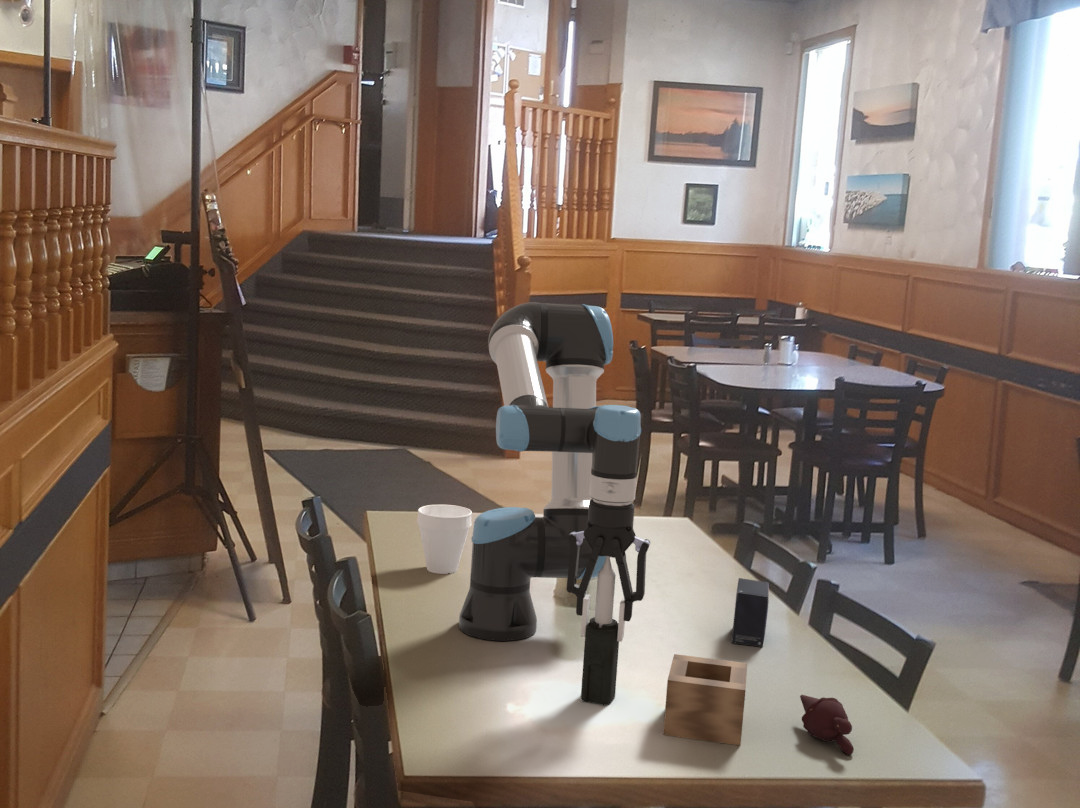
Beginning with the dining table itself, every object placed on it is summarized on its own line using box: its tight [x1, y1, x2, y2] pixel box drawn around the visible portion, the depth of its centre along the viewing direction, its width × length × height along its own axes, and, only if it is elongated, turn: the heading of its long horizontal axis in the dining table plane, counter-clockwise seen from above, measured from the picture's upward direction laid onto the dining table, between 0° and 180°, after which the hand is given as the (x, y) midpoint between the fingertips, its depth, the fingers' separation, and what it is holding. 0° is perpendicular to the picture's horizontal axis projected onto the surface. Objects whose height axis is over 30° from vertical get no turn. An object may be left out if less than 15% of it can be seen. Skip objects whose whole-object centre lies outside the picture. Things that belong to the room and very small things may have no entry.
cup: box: [416, 504, 473, 575], centre depth 265 cm, size 12×12×14 cm
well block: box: [662, 653, 748, 746], centre depth 188 cm, size 12×12×9 cm
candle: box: [580, 556, 620, 706], centre depth 195 cm, size 5×5×25 cm
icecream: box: [799, 694, 854, 756], centre depth 187 cm, size 7×7×15 cm
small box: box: [731, 577, 770, 648], centre depth 232 cm, size 11×6×10 cm, turn 168°
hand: (602, 636), depth 196 cm, fingers closed on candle, 5 cm apart
